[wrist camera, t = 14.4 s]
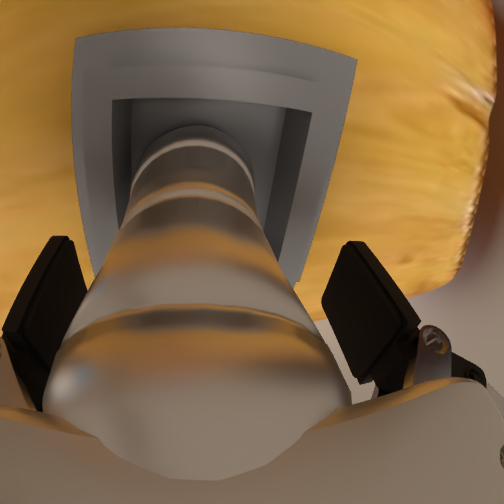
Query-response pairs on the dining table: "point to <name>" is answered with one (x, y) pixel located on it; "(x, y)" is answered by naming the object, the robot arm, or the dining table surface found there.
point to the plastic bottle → (193, 326)
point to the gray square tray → (209, 121)
